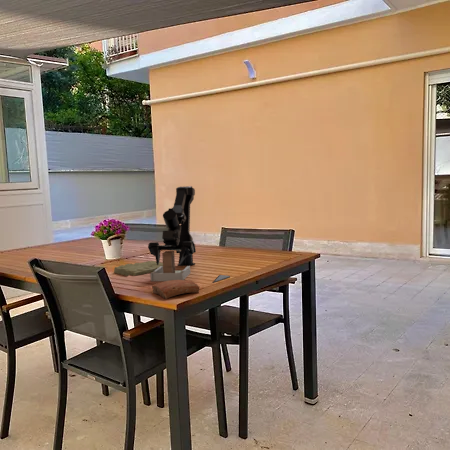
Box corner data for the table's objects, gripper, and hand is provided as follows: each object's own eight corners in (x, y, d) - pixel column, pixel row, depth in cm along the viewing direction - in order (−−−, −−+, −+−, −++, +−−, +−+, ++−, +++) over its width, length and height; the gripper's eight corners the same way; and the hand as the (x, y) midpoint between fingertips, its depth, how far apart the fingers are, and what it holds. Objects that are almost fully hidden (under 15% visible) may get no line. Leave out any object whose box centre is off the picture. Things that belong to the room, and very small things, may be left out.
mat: (208, 274, 194) (208, 273, 194) (230, 277, 187) (230, 276, 187) (190, 279, 185) (190, 278, 185) (212, 282, 177) (212, 281, 177)
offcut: (168, 273, 194) (168, 270, 194) (182, 273, 193) (182, 270, 193) (165, 276, 190) (165, 272, 190) (179, 276, 189) (179, 272, 189)
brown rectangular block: (167, 278, 188) (166, 251, 187) (175, 278, 187) (174, 250, 186) (163, 282, 182) (162, 253, 181) (172, 282, 181) (170, 253, 180)
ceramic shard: (180, 273, 175) (201, 284, 163) (178, 288, 176) (198, 301, 164) (147, 273, 166) (166, 286, 154) (144, 290, 167) (163, 304, 155)
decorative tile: (171, 271, 206) (171, 263, 206) (134, 279, 192) (134, 271, 192) (148, 266, 220) (148, 259, 219) (112, 273, 206) (112, 266, 205)
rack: (160, 275, 196) (160, 266, 195) (190, 274, 194) (190, 265, 194) (150, 283, 181) (150, 273, 180) (182, 283, 179) (182, 273, 179)
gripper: (148, 223, 188) (141, 253, 178) (191, 222, 185) (186, 252, 175) (154, 239, 196) (148, 268, 186) (195, 238, 194) (191, 268, 184)
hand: (168, 264), depth 183 cm, fingers open, 9 cm apart
